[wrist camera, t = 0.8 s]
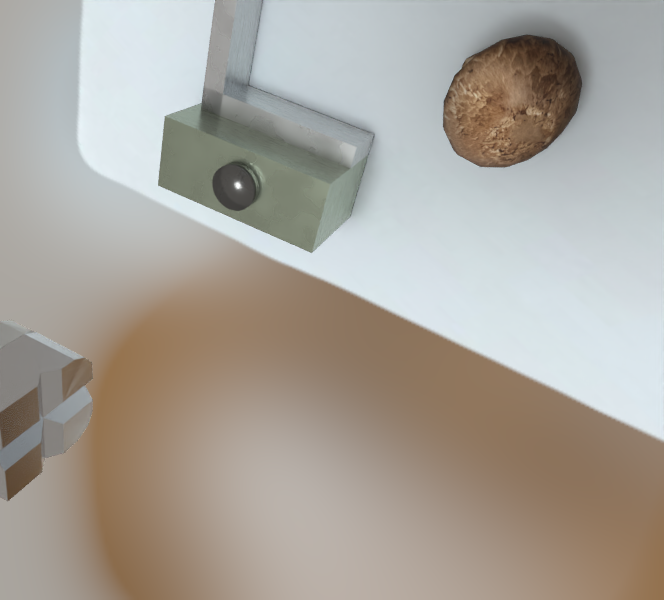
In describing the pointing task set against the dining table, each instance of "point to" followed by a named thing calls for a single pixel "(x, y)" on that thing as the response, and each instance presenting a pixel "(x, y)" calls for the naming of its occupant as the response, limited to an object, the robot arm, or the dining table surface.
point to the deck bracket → (260, 145)
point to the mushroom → (511, 101)
